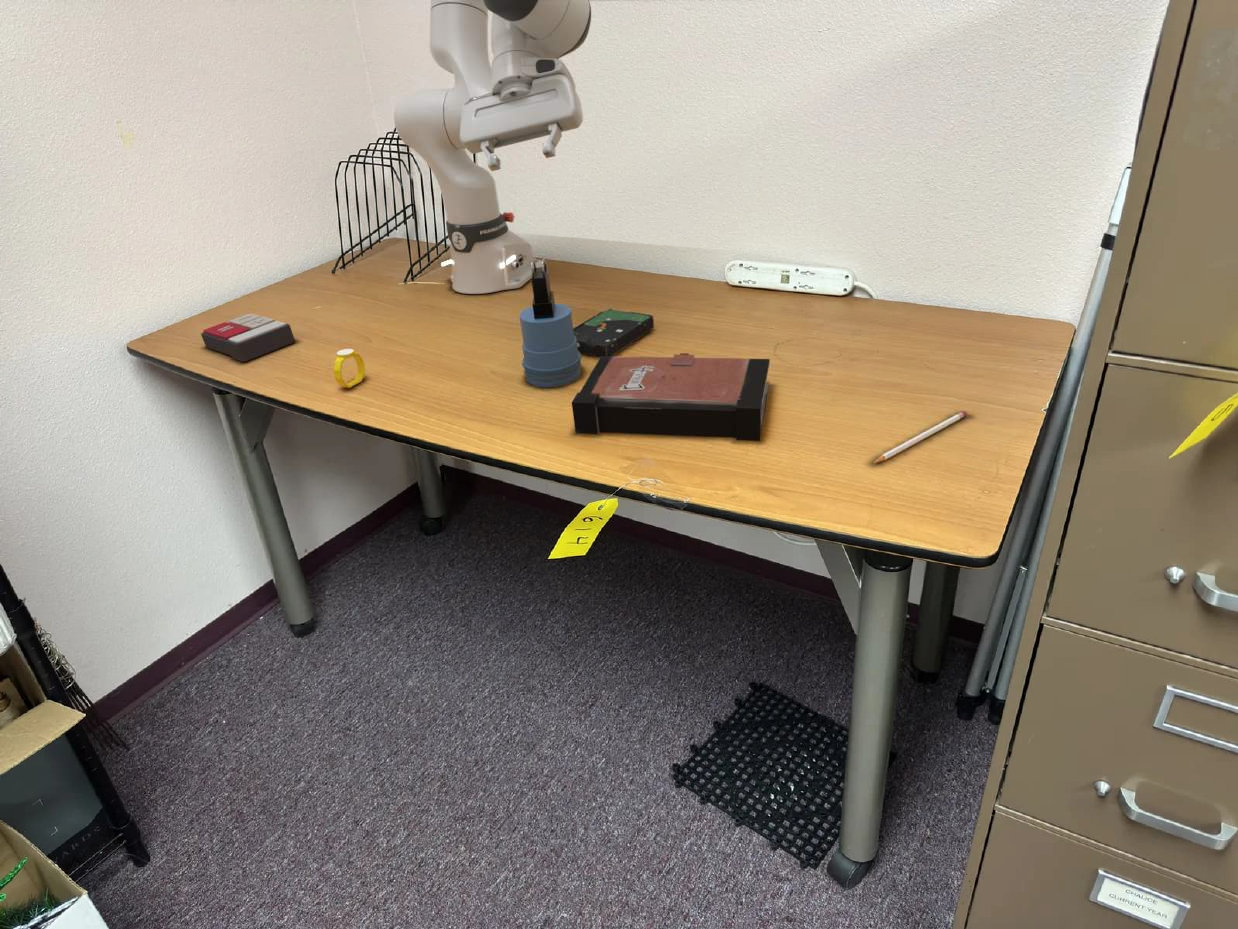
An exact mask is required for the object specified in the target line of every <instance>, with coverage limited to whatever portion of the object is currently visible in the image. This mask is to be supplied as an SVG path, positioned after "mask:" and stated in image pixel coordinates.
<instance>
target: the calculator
mask: <svg viewBox="0 0 1238 929" xmlns="http://www.w3.org/2000/svg"><path fill="white" fill-rule="evenodd" d="M200 335H201V338H202V340H203V343H204V345H205V348H207V349H209V350H213V351H216V352H219V353H222V354H224V355H228V356H230V357H231V358H232V359H233V360H235V361H238V362H241V363H246V362H248V361H250V360H254V359H256V358H259V357H260V356H263V355H266V354H268V353H270V352H271V353H272V352H273V351H276V350H279V349H281V348H284V347H285V346H289V345H291V344H294V343H295V342H296V339H295V337H294V334H293V330H292V328H291V324H289V323H286V322H283V321H279V320H275V319H274V318H271V317H267V316H262V315H259V314H255V313H252V312H251V313H247V314H244V315H240V316H238V317H235V318H233V319H230V320H228V322H227V321H224V322H222V323H219V324H216V325H213V326H210V327H207V328H205V329H203V332H201V333H200Z"/></svg>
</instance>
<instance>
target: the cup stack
mask: <svg viewBox="0 0 1238 929" xmlns="http://www.w3.org/2000/svg"><path fill="white" fill-rule="evenodd" d="M518 317H519V324H520V329H521V335H522V336H521V337H522V344H521V347H522V353H523V357H522V360H521V363H522V367H523V371H524V374H525V375H526V376H525V377H526V381H527V383H528V384H530V385H531V386H534V387H537V388H559V387H562V386H563V387H564V386H566V385H569V384H572V383H573V382H575V381H577V380H578V379H579V378H580V377H581V374H582V369H581V368H582V362H581V361H582V353H580V352H579V351H578V348H577V340H576V337H575V336H574V331H573V328H574V323H573V322H574V321H573V316H572V308H571V307H570V306H569V305H566V304H564V303H556V302H555V310H554V317H553V318H543V319H534V312H533V306H529V307H527V308H525V309H523V310H521V312H520V313H519V315H518Z"/></svg>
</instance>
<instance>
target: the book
mask: <svg viewBox="0 0 1238 929" xmlns="http://www.w3.org/2000/svg"><path fill="white" fill-rule="evenodd" d="M770 363H771V359H770V358H738V357H737V358H736V357H735V358H734V357H732V358H731V357H695V354H690V353H686V352H685V353H684V352H683V353H681V352H680V354H673V357H672V356H671V357H670V356H617V355H616V356H615V355H613V356H601V357H599V359H598V360H597V362H596V364H595V366H594V367H593V369H592V370H591V373H590V374H589V376H588V377H587V379H586V381H585V382H584V384H583V385H582V388H581V389H580V391H579V392H576V394H575V396H574V397H573V399H572V401H571V410H572V416H573V417H572V418H573V425H574V432H575V434H578V435H598V434H599V433H601V434H623V435H624V434H626V435H627V434H628V435H648V436H649V435H650V436H651V435H653V436H654V435H655V436H673V437H674V436H675V437H676V436H677V437H700V438H701V437H702V438H704V437H705V438H726V439H728V438H729V439H735V440H736V441H747V442H748V441H752V442H760V441H761V440H762V439H761V438H762V433H763V426H764V422H765V416H766V415H765V414H766V408H767V403H768V396H769V393H770V392H769V391H770V381H768V375H769V369H770Z"/></svg>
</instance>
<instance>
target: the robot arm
mask: <svg viewBox="0 0 1238 929" xmlns="http://www.w3.org/2000/svg"><path fill="white" fill-rule="evenodd" d="M489 12H491V13H492V15H491V17H492V18H491V26H490V48H491V51H492V54H493V55H492V56H493V58H492V62H491V63H490V57H489V56H490V55H489ZM429 14H430V15H429V16H430V17H429V21H430V22H429V51H430V54H431V57H432V59H433V61H435V63H436V64H437V65H438V66H439V67H441V68H442V69H443V70H445V71H447V72H449V73H450V74H452V75H453V76H454V85H453V86H454V87H452V88H441V89H439V88H438V89H425V90H424V89H423V90H420V91H419V90H418V91H416V92H412V93H410V94H407V95H404V96H402V97H400V98H399V99H398V101H397V103H396V105H395V109H394V113H393V123H394V128H395V131H396V133H397V135H398V137H399V138H400V139H401V141H402V142H403V143H404V144H405V145H406V146H407V147H408V148H410V149H412V150H413V151H415V152H416V153H417V154H418V155H419V157H421V158H422V159H423V160H424V162H425V163H426V164H427V166H428V168H430V170H431V171H432V173H433V175H434V177H435V180H436V181H437V184H438V186H439V190H440V193H441V198H442V202H443V206H444V208H445V209H444V210H445V214H446V221H445V224H446V232H447V238H448V240H449V241H450V244H449V253H450V254H449V255H450V259H449V260H446V261H443V262H441V263H440V264H441V267H445V266H447V265H451V275H450V281H451V283H452V285H451V286H452V287H451V288H452V290H453V291H455V292H457V293H460V294H466V295H482V294H490V293H495V292H500V291H504V290H505V291H506V290H515V289H520V288H521V287H523V286H525V284H526V283H528V282H529V281H530V280H531V278H532V271H531V262H532V258H533V257H534V254H533V253H534V252H533V249H532V246H531V244H530V242H529V241H528V240H527V239H526V238H523V237H521V236H520V235H518V234H517V233H515V232H514V231H512V230H510V229H509V226H508V224H507V223H513V222H514V221H515V214H514V212H508V211H505V212H503V213H501V210H500V202H499V198H498V192H497V185H496V181H495V178H494V177H493V175H492V174H491V172H496V171H499V170H501V169H502V166H501V164H502V163H501V159H500V158H499V157H498V156H497V154H495V149H498V148H501V147H507V146H511V145H515V144H518V143H523V142H527V141H531V140H535V139H539V138H543V137H547V136H549V137H548V138H547V141H545V142H542V154H543V155H544V156H545V158H546V159H549V158H553V157H556V147H557V146H558V144H559V142H560V140H561V139H562V137H563V134H562V133H564V132H568V131H571V130H576V129H578V128H580V126H581V125H582V123H583V121H584V113H583V107H582V102H581V98H580V96H579V94H578V92H577V91H576V90H577V89H576V88H577V87H576V83H575V80H574V78H573V76H572V74H571V72H570V71H569V69H568V67H567V66H566V64H565V63H564V62H563V60H562V59H561V58H563V57H565V56H567V55H570V54H571V53H574V51H576V50H577V49H579V48H580V47H581V46H582V45H583V44H584V42H586V39H587V38H588V35H589V31H590V28H591V22H592V7H591V2H590V0H430V13H429ZM467 151H468V152H469V153H471V154H473V155H474V154H478V153H482V152H483V153H484V155H485V157H487V167H488V169H489V170H490V171H491V172H490V171H489V170H487V169H485V168H484V167H483V166H480V165H479V164H477V163H475V161H473V159H471V157H470V156H469V155H468V153H467ZM541 264H542V259H537V258H535V265H536V268H539V267H542V266H541ZM543 266H544V264H543ZM533 268H534V265H533Z"/></svg>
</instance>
